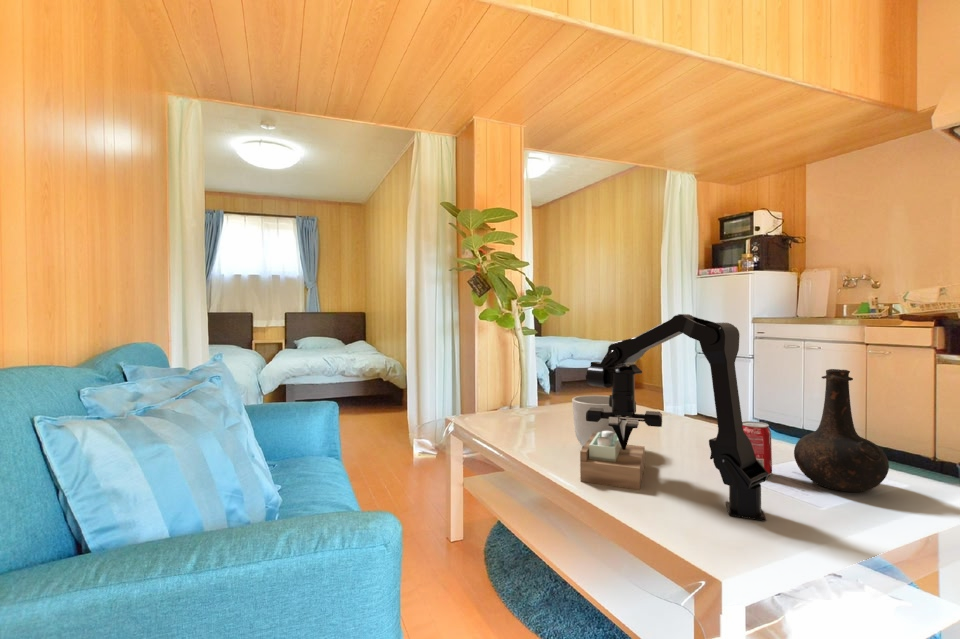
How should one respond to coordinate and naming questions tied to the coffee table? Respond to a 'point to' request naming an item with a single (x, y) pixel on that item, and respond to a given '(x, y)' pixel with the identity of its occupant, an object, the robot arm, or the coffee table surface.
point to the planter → (586, 427)
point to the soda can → (760, 442)
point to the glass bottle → (840, 445)
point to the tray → (605, 446)
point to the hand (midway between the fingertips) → (624, 449)
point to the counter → (614, 467)
